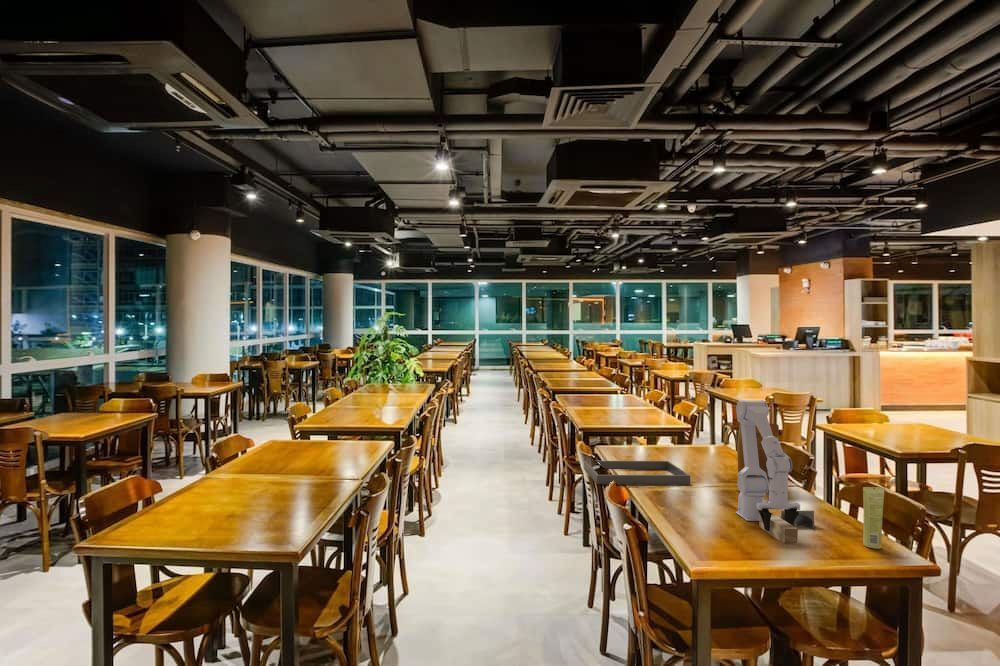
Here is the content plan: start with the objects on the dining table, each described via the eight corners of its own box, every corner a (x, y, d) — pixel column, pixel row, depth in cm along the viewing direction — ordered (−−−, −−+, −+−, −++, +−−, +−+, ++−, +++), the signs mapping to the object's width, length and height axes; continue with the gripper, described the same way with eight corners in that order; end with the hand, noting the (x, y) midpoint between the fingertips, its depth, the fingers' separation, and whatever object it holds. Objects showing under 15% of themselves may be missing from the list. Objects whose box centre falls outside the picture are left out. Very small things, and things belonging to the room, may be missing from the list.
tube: (865, 541, 188) (866, 483, 188) (883, 546, 185) (884, 486, 185) (861, 546, 184) (862, 487, 184) (879, 550, 181) (881, 490, 181)
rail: (759, 526, 202) (759, 512, 202) (771, 526, 202) (771, 512, 202) (784, 543, 186) (784, 528, 186) (797, 543, 186) (797, 528, 186)
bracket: (780, 524, 204) (781, 510, 204) (812, 524, 205) (813, 510, 205) (788, 528, 200) (788, 514, 200) (820, 528, 200) (821, 514, 200)
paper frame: (583, 468, 281) (583, 460, 281) (668, 468, 283) (668, 460, 283) (596, 484, 253) (596, 475, 253) (690, 484, 255) (690, 475, 255)
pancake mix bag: (780, 486, 255) (782, 424, 254) (738, 485, 255) (739, 423, 255) (774, 482, 261) (775, 422, 261) (732, 481, 262) (733, 421, 262)
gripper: (764, 494, 189) (763, 534, 189) (805, 494, 190) (804, 534, 190) (753, 488, 196) (752, 527, 196) (793, 488, 197) (792, 527, 197)
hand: (777, 530), depth 194 cm, fingers open, 7 cm apart
